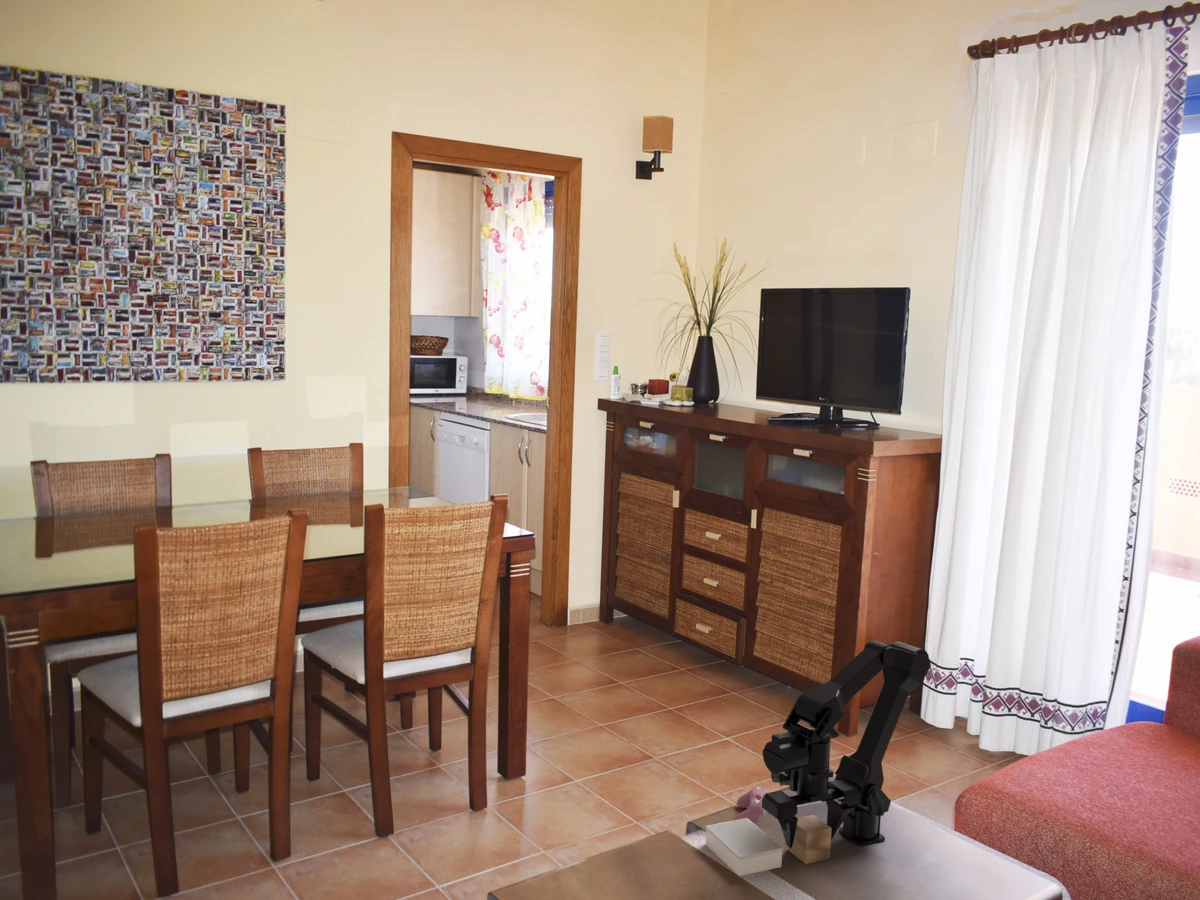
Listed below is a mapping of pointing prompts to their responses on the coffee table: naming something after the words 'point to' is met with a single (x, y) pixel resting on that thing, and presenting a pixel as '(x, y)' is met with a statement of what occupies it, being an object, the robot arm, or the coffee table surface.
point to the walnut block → (811, 840)
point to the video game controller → (751, 804)
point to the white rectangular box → (743, 846)
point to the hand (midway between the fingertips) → (809, 842)
